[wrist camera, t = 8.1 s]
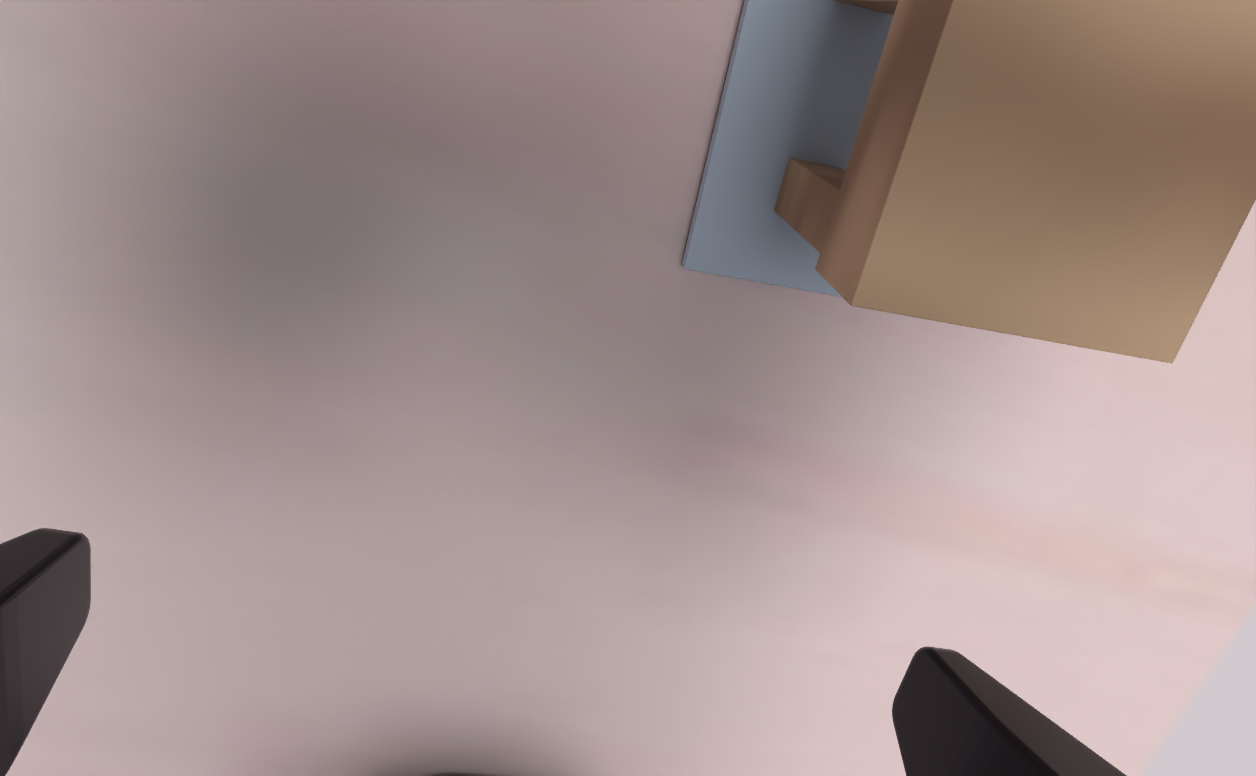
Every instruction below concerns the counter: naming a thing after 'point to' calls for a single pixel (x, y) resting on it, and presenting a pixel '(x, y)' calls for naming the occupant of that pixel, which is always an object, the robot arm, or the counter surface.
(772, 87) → the pad
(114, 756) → the counter surface
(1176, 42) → the stool
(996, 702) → the robot arm
